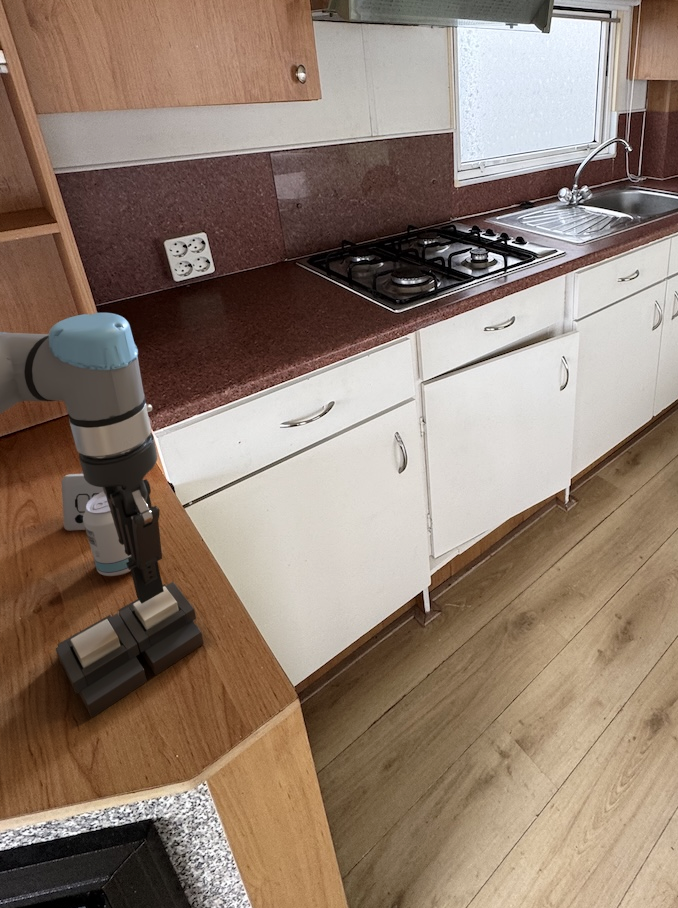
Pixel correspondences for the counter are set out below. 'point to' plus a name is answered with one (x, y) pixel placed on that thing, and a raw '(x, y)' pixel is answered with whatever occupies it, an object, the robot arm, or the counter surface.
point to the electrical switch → (76, 500)
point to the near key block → (104, 670)
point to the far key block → (165, 633)
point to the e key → (156, 609)
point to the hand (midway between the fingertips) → (150, 594)
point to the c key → (95, 643)
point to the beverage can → (104, 538)
